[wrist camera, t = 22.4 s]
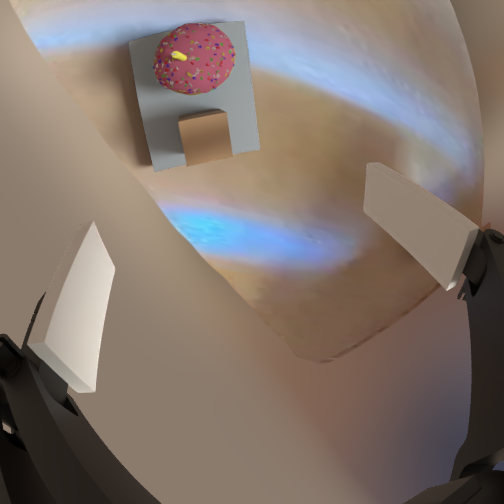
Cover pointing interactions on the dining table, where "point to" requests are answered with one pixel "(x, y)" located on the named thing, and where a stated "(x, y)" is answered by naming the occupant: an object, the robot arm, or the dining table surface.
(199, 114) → the walnut block
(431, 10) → the dining table surface
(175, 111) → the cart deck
